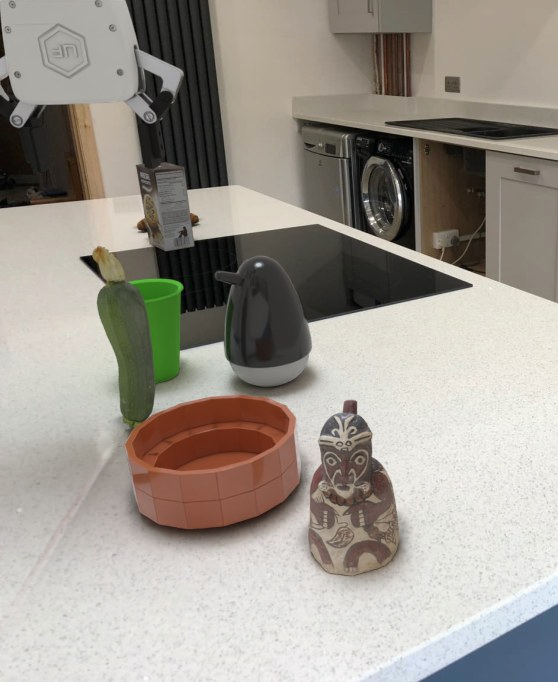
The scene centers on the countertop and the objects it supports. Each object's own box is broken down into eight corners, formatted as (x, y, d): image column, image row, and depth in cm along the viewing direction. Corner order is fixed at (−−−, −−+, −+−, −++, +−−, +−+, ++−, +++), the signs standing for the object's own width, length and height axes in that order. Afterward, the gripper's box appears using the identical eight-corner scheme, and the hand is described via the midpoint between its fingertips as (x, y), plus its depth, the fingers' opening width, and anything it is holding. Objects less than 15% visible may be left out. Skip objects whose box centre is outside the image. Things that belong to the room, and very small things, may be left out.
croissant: (141, 235, 158) (137, 212, 157) (134, 229, 164) (130, 207, 162) (204, 226, 166) (201, 204, 164) (195, 221, 171) (192, 200, 169)
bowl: (117, 544, 59) (103, 480, 57) (159, 454, 72) (149, 400, 70) (295, 529, 61) (288, 466, 59) (305, 444, 74) (300, 390, 72)
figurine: (296, 570, 56) (281, 431, 52) (326, 515, 63) (315, 388, 58) (387, 579, 55) (380, 438, 51) (407, 523, 62) (402, 394, 57)
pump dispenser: (212, 376, 90) (195, 255, 84) (289, 354, 96) (278, 240, 90) (249, 405, 82) (233, 274, 77) (330, 379, 88) (320, 257, 83)
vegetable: (158, 414, 80) (126, 235, 73) (173, 429, 77) (141, 243, 70) (116, 427, 78) (79, 242, 70) (129, 442, 75) (92, 251, 67)
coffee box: (147, 243, 152) (134, 164, 146) (178, 238, 155) (166, 161, 149) (164, 252, 145) (151, 169, 139) (196, 246, 149) (184, 165, 143)
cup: (100, 385, 87) (82, 298, 83) (151, 357, 95) (136, 276, 91) (164, 395, 85) (148, 305, 81) (210, 364, 93) (198, 281, 89)
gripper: (-78, -44, 57) (-20, 179, 63) (154, -45, 59) (187, 171, 65) (-31, -34, 64) (16, 166, 70) (175, -36, 66) (203, 160, 72)
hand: (99, 169), depth 67 cm, fingers open, 9 cm apart
